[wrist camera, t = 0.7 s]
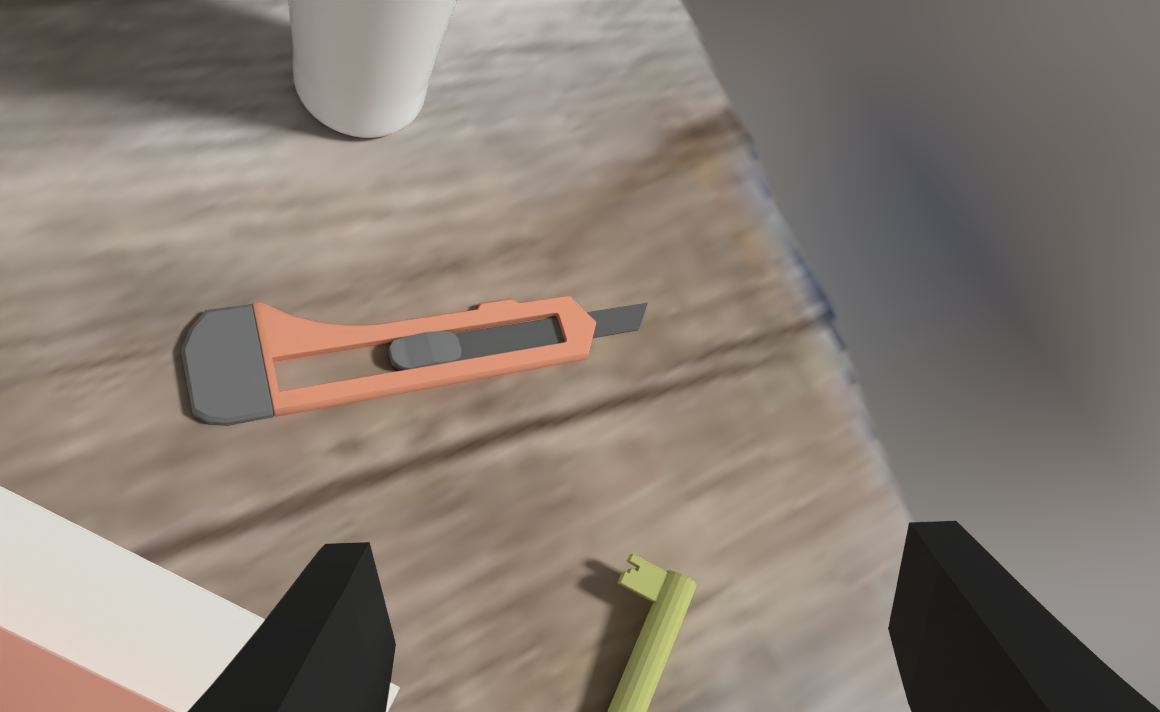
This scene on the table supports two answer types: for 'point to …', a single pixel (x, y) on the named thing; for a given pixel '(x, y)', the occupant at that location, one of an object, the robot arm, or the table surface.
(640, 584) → the key
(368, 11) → the drinking glass
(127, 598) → the white rectangular block
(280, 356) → the utility knife
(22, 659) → the pink rubber eraser
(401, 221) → the table surface
